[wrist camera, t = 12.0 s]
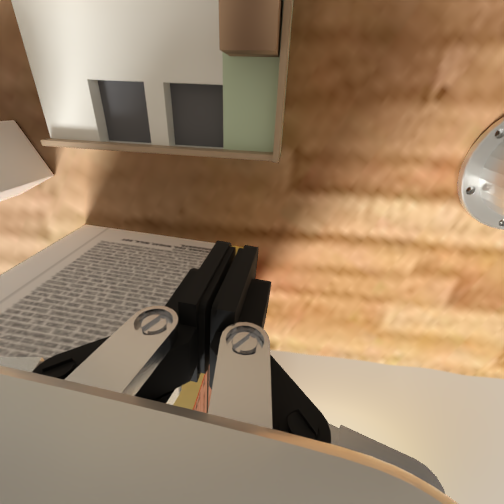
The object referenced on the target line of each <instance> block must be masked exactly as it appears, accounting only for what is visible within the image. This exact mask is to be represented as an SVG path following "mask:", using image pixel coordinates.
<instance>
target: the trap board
mask: <svg viewBox="0 0 504 504" xmlns="http://www.w3.org/2000/svg"><path fill="white" fill-rule="evenodd" d="M293 1H294V0H283V3H282V19H281V34H280V50H279V57H243V56H229V55H227V54H226V53H224V52H222V51H221V50H220V48H219V0H11V2H12V5H13V9H14V12H15V16H16V19H17V23H18V26H19V30H20V33H21V36H22V40H23V43H24V47H25V50H26V54H27V57H28V61H29V64H30V68H31V71H32V75H33V78H34V82H35V85H36V89H37V92H38V95H39V99H40V102H41V106H42V109H43V113H44V116H45V120H46V123H47V127H48V130H49V134H50V137H51V138H49V139H43V140H41V144H42V146H52V147H67V148H82V149H97V150H112V151H127V152H142V153H157V154H171V155H186V156H201V157H216V158H231V159H246V160H261V161H272V162H275V163H279V159H280V156H281V144H282V132H283V120H284V108H285V96H286V85H287V73H288V61H289V49H290V37H291V25H292V13H293Z"/></svg>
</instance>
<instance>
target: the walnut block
mask: <svg viewBox="0 0 504 504" xmlns="http://www.w3.org/2000/svg"><path fill="white" fill-rule="evenodd" d="M282 3H283V0H219V48H220V50H221V51H222V52H224V53H226V54H227V55H229V56H243V57H279V50H280V34H281V19H282Z"/></svg>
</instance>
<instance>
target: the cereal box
mask: <svg viewBox="0 0 504 504" xmlns="http://www.w3.org/2000/svg"><path fill="white" fill-rule="evenodd" d="M214 245H215V243H212V242H205V241H198V240H191V239H184V238H177V237H170V236H163V235H156V234H149V233H142V232H135V231H128V230H121V229H115V228H108V227H101V226H94V225H87V224H85V225H83V226H82V227H80V228H78V229H77V230H75V231H73V232H71V233H70V234H68V235H66V236H65V237H63V238H61V239H60V240H58V241H56V242H55V243H53V244H51V245H50V246H48V247H46V248H45V249H43V250H41V251H40V252H38V253H36V254H35V255H33V256H31V257H30V258H28V259H26V260H24V261H23V262H21V263H19V264H18V265H16V266H14V267H13V268H11V269H9V270H8V271H6V272H4V273H3V274H1V275H0V357H43V360H44V361H45V360H47V359H48V358H50V357H52V356H55V355H57V354H60V353H62V352H65V351H68V350H71V349H74V348H77V347H80V346H82V345H85V344H88V343H91V342H94V341H97V340H100V339H103V338H105V337H108V336H111V335H112V334H113V333H114V332H116V331H117V330H118V329H119V328H120V327H121V326H122V325H123V324H124V323H125V322H126V321H127V320H128V319H129V318H131V317H132V316H133V315H134V314H135V313H136V312H138V311H139V310H141V309H144V308H146V307H150V306H165V305H166V303H167V302H168V301H169V299H170V298H171V296H172V295H173V293H174V292H175V290H176V289H177V288H178V286H179V285H180V283H181V282H182V280H183V279H184V278H185V276H186V275H187V273H188V272H189V270H190V269H191V268H196V269H199V268H200V267H201V265H202V264H203V262H204V260H205V259H206V257H207V256H208V254H209V253H210V251H211V250H212V248H213V247H214ZM232 247H236V253H237V251H238V249H239V248H244V247H239V246H232ZM209 367H210V364H209ZM209 367H208V370H207V372H206V374H203V373H201V374H200V376H199V379H198V382H193V381H190V382H188V383H186V384H184V385H182V389H181V392H180V394H179V396H178V398H177V399H176V401H175V403H174V404H173V405H174V406H179V407H183V408H187V409H191V410H196V411H200V412H204V413H208V410H209V404H210V398H211V392H212V390H211V388H210V386H209Z"/></svg>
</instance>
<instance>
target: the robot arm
mask: <svg viewBox="0 0 504 504" xmlns="http://www.w3.org/2000/svg"><path fill="white" fill-rule="evenodd" d="M496 132H497V133H496ZM495 133H496V135H495ZM457 184H458V195H459V199H460V202H461V204H462V206H463V207H464V209H465V210H466V212H467V213H469V214H470V215H471V216H472V217H473V218H474V219H476V220H477V221H479V222H480V223H482V224H485V225H487V226H489V227H492V228H497V229H504V117H502V118H501V119H499V120H498V121H497V122H495V123H494V124H492V125H491V126H490V127H489V128H488V129H487V130H486V131H485V132H484V133H483V134H482V135H481V136H480V137H479V138H478V139H477V141H476V142H475V143H474V144H473V146H472V147H471V148H470V150H469V152H468V153H467V155H466V157H465V159H464V161H463V163H462V166H461V169H460V171H459V177H458V182H457ZM467 188H468V189H467ZM466 189H467V190H466ZM257 259H258V247H254V246H248V245H245V246H244V248H239V249H238V251H237V253H236V247H232V245H231V243H229V242H223V241H217V242H216V243H215V245H214V247H213V248H212V250H211V251H210V253H209V254H208V256H207V257H206V259H205V260H204V262H203V264H202V265H201V267H200V268H199V269H196V268H191V269H190V270H189V272H188V273H187V275H186V276H185V278H184V279H183V280H182V282H181V283H180V285H179V286H178V288H177V289H176V290H175V292H174V293H173V295H172V296H171V298H170V299H169V301H168V302H167V303H166V305H165V306H150V307H146V308H144V309H141V310H139V311H138V312H136V313H135V314H134V315H133V316H132V317H131V318H129V319H128V320H127V321H126V322H125V323H124V324H123V325H122V326H121V327H120V328H119V329H118V330H117V331H116V332H114V333H113V334H112V335H111V336H108V337H105V338H103V339H100V340H97V341H94V342H91V343H88V344H85V345H82V346H80V347H77V348H74V349H71V350H68V351H65V352H62V353H60V354H57V355H55V356H52V357H50V358H48V359H47V360H45V361H44V360H43V357H0V504H458V503H457V502H455V501H454V500H453V499H451V498H450V497H448V496H447V495H445V492H444V489H443V487H442V485H441V484H440V482H439V480H438V479H437V477H436V476H435V475H434V474H433V473H432V472H431V471H430V470H429V469H428V468H427V467H426V466H425V465H424V464H422V463H420V462H419V461H417V460H416V459H414V458H411V457H409V456H407V455H405V454H403V453H401V452H399V451H397V450H394V449H392V448H390V447H388V446H386V445H383V444H381V443H379V442H377V441H375V440H373V439H370V438H368V437H366V436H364V435H362V434H359V433H358V432H355V431H353V430H351V429H349V428H347V427H345V426H342V425H341V426H340V428H337V427H335V426H333V425H330V424H329V423H328V422H327V420H326V419H325V417H324V416H323V415H322V413H321V412H320V411H319V410H318V408H317V407H316V406H315V405H314V404H313V403H312V402H311V400H310V399H309V398H308V397H307V396H306V395H305V394H304V393H303V391H302V390H301V389H300V388H299V387H298V386H297V385H296V383H295V382H294V381H293V380H292V379H291V378H290V377H289V375H288V374H287V373H286V372H285V371H284V370H283V369H282V367H281V366H280V365H279V364H278V363H277V362H276V361H275V359H274V358H273V357H272V356H271V355H270V341H269V337H268V335H267V333H266V332H265V330H263V328H264V323H265V318H266V313H267V307H268V301H269V295H270V288H271V282H270V281H265V280H259V279H255V276H256V267H257ZM209 364H210V367H209ZM208 367H209V386H210V388H211V390H212V392H211V398H210V404H209V410H208V413H204V412H200V411H196V410H191V409H187V408H183V407H179V406H174V405H173V404H174V403H175V401H176V399H177V398H178V396H179V394H180V392H181V389H182V385H184V384H186V383H188V382H190V381H193V382H198V379H199V376H200V374H201V373H203V374H206V372H207V370H208Z"/></svg>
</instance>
